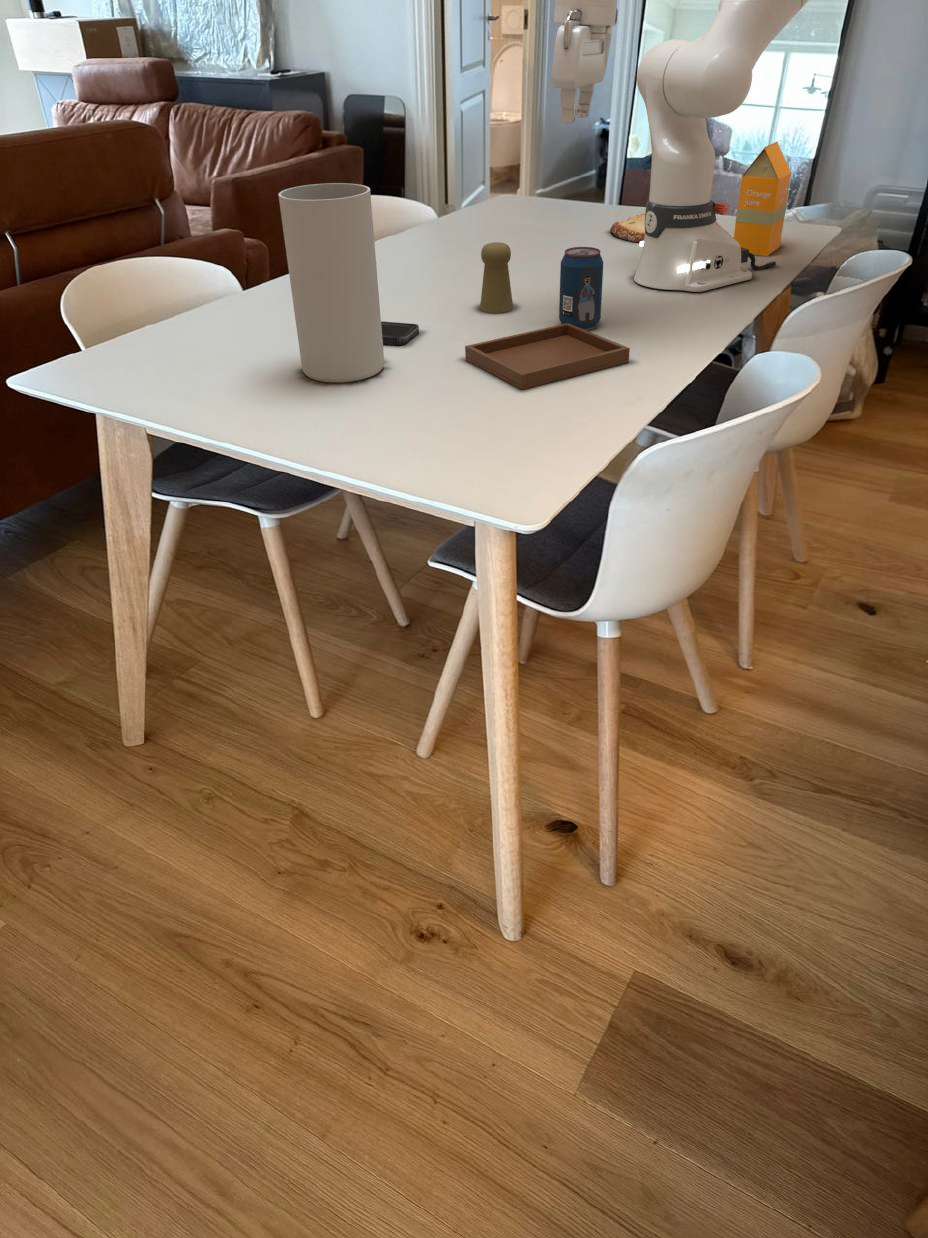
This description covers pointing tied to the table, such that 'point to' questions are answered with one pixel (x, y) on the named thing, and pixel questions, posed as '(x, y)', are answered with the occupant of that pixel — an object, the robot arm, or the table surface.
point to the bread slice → (630, 229)
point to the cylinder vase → (333, 280)
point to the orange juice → (763, 202)
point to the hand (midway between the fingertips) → (575, 119)
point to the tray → (546, 355)
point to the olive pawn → (496, 279)
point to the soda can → (581, 287)
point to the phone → (398, 332)
